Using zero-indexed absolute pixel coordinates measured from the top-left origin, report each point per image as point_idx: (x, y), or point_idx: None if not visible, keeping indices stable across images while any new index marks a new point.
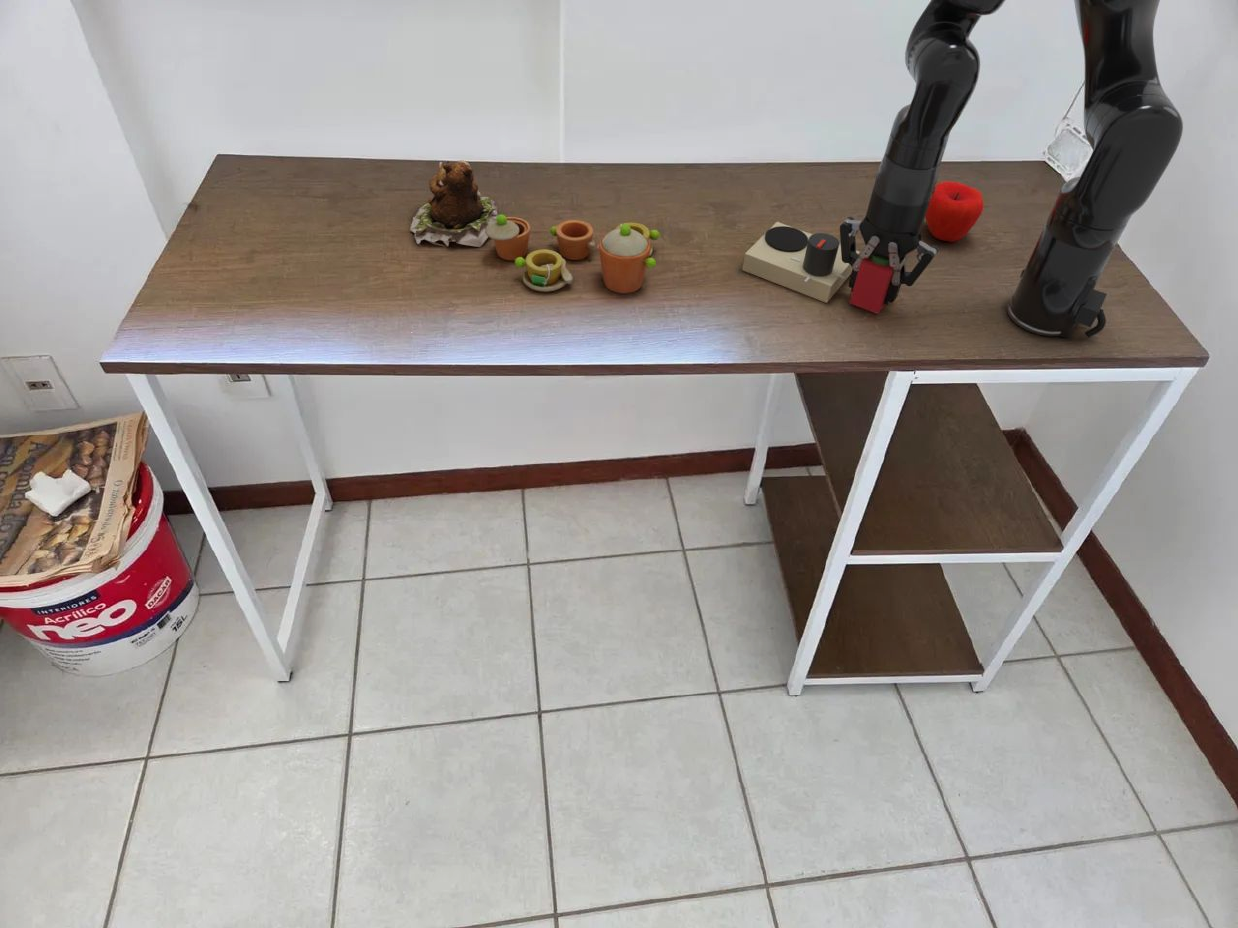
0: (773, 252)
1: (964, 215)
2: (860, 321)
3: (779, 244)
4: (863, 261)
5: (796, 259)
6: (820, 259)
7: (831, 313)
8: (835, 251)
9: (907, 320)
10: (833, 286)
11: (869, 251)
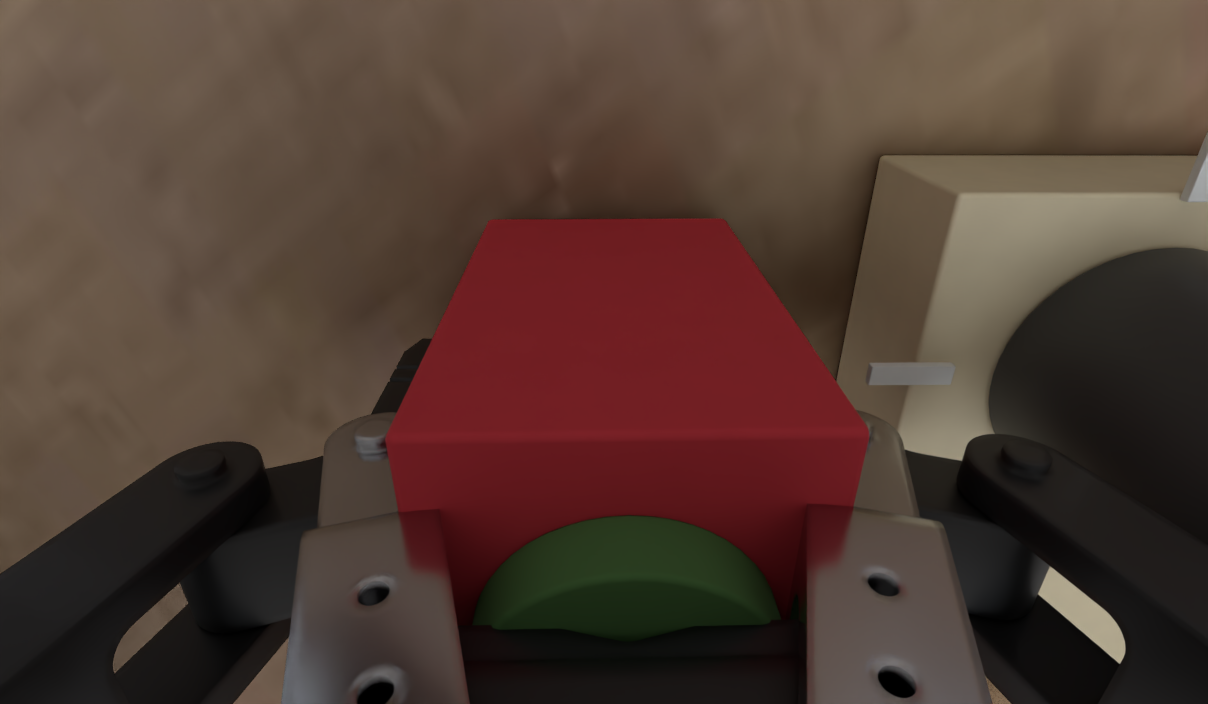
0: None
1: None
2: (573, 92)
3: None
4: (838, 471)
5: None
6: None
7: (811, 48)
8: (1205, 505)
9: (312, 312)
10: (918, 255)
11: (856, 645)
